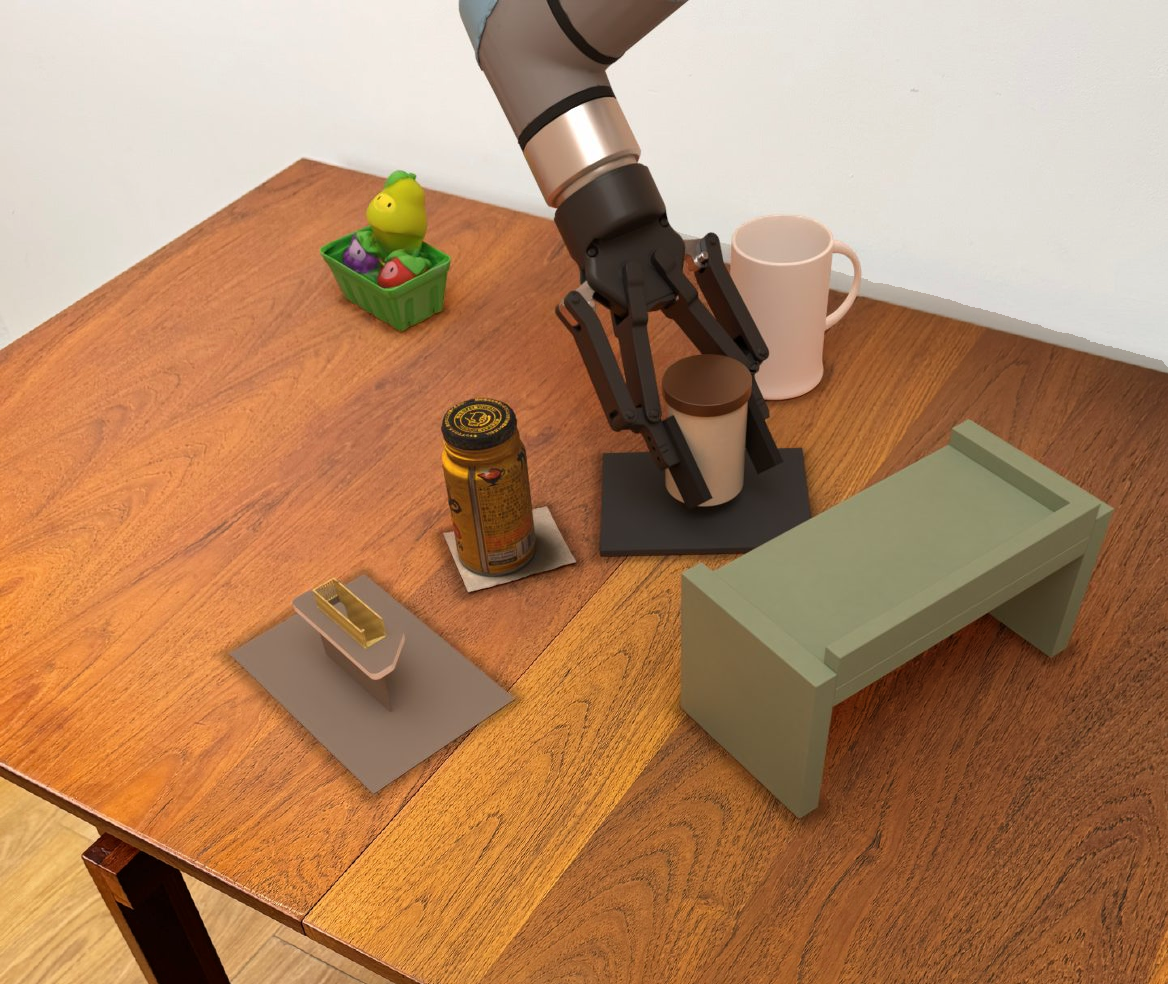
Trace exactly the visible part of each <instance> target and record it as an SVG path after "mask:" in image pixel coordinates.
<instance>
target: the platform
mask: <svg viewBox="0 0 1168 984" xmlns="http://www.w3.org/2000/svg"><path fill="white" fill-rule="evenodd" d="M291 603H292V607H293V610H294V611H295V612H296V613H295V614H293V615H291V616H290V617H288V618H287V619H285V620H283V621H281V622H280V623H278V624H276V625H274V626H273V627H271V628H269V629H268V630H266V631H264V632H263V633H261V634H259V635H257V636H255V637H254V638H251V640H248V641H247V642H246V643H244V644H242V645H240V646H239V647H237V648H235V649H234V650H232V651H230V652H229V653H228V654H229V656H231V658H233V660H235V661H236V663H238V664H239V665H240V666H241V667H242V668H243V669H244V670H245V671H246V672H247V673H248V674H249V675H250V676H251V677H252V678H253V679H254V680H255V681H256V682H257V683H258V684H260V685H261V687H262V688H263V689H265V690H266V691H267V692H268V693H269V695H271V696H272V697H273V699H275V700H276V701H277V702H278V703H279V704H280V705H281V706H282V707H283V708H284V709H285V710H286V711H287V712H288V713H289V714H290V715H291V716H292V717H293V718H294V719H295V720H296V721H297V722H298V723H299V724H300V725H302V727H304V728H305V729H306V730H307V731H308V732H309V733H310V734H311V736H313V737H314V738H315V739H316V740H317V741H318V742H319V743H320V744H321V745H322V746H323V747H324V748H325V749H326V750H328V752H329V753H330V754H331V755H332V756H333V757H334V758H336V759H337V761H339V763H341V764H342V765H343V767H344V768H346V769H347V770H348V771H349V772H350V774H352V775H353V776H354V778H356V779H357V780H358V781H359V782H360V783H361V784H362V785H363V786H364V787H365V788H366V789H367V790H369V792H370V793H372V794H373V795H375V794H376V793H377V792H379V791H381V790H382V789H383V788H385V787H386V786H388V785H390V784H391V783H393V782H394V781H395V780H396V779H398V778H399V777H401V776H403V775H404V774H405V773H407V772H409V771H410V770H411V769H413V768H414V767H417V766H418V765H419V764H420V763H422V762H423V761H425V760H426V759H428V758H429V757H431V756H432V755H434V754H436V753H437V752H438V751H440V750H442V749H443V748H444V747H446V746H447V745H449V744H450V743H451V742H453V741H455V740H456V739H457V738H459V737H460V736H462V735H463V734H466V732H468V731H469V730H471V729H473V728H474V727H475V726H477V725H478V724H480V723H481V722H482V721H484V720H486V719H488V718H489V717H491V716H492V715H493V714H495V713H496V712H498V711H499V710H501V709H502V708H504V707H505V706H506V705H508V704H510V703H511V702H513V701H514V700H515V699H516V698H515V696H513V695H511V694H510V693H509V692H508V691H507V690H506V689H504V687H502V686H501V685H499V683H497V681H494V679H492V678H491V677H490V676H488V674H486V673H485V672H484V671H483V670H481V669H480V668H479V667H478V666H477V665H475V664H474V663H473V662H472V661H471V660H469V659H468V658H467V657H466V656H465V655H463V654H462V653H461V652H459V651H458V650H457V649H456V648H455V647H453V646H452V645H451V644H450V643H449V642H448V641H446V640H445V639H444V638H443V637H442V636H440V635H439V634H438V633H437V632H436V631H434V630H433V629H431V627H429V626H428V625H427V624H426V623H425V622H423V621H422V620H421V619H420V618H418V616H416V615H415V614H414V613H412V612H411V611H410V610H409V609H407V608H406V607H405V606H404V605H402V604H401V603H400V602H399V601H398V600H397V599H395V598H394V597H393V596H392V595H391V594H389V593H388V592H387V591H386V590H385V589H383V588H382V587H381V586H380V585H379V584H377V583H376V582H375V581H374V580H372V579H371V578H370V577H369V576H368V575H366V574H365V573H363V574H361V575H359V576H357V577H356V578H355V579H353V580H351V581H349V582H347V583H341V582H340V581H339V580H338V579H336V578H335V577H332V578H331V579H329V580H327V581H325V582H323V583H322V584H320V585H318V586H317V587H315V588H313V589H312V590H307V591H305V592H303V593H302V594H300V595H298V596H296V597H294V599H292V602H291Z"/></svg>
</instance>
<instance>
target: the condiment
mask: <svg viewBox="0 0 1168 984" xmlns="http://www.w3.org/2000/svg"><path fill="white" fill-rule="evenodd" d="M440 431H441V433H442V439H443V450H442V453H441V463H442V464H441V468H442V471H443V477H444V483H445V488H446V489H445V490H446V494H447V499H448V500H447V502H448V503H447V504H448V506H449V511H450V517H451V523H452V525H451V526H452V531H449V532H443V533H442V534H443V536H444V539H445V541H446V544H447V546H448V548H449V551H450V553H451V556H452V558H453V561H454V563H455V565H456V568H457V571H458V573H459V575H460V577H461V579H462V581H463V584H464V586H465V588H466V591H467V593H471V592H474V591H479V590H481V589H486V588H491V587H495V586H497V585H503V584H506V583H510V582H512V581H516V580H517V581H518V580H519V579H522V578H526V577H528V576H531V575H533V574H539V573H543V572H547V571H551V570H555V569H557V568H560V567H562V566H565V565H571V564H574V563H577V560H576V558H575V557H574V555H573V554H572V552H571V551H570V550H571V549H570V548H569V546H568V544H567V543H566V541H565V539H564V537H563V535H562V533H561V532H560V530H559V528H558V525H557V524H556V521H555V520H554V518H553V516H552V513H551V512H550V509H549V508H548V506H547V505H546V506H543V507H537V508H533V505H532V494H531V485H530V476H529V467H528V457H527V450H526V446H525V444H524V441H522V439H521V435H520V431H519V428H518V419H517V416H516V413H515V412H514V409H513V408H512V407H511V406H510V405H509V404H508V403H506V402H503V401H501V400H498V399H494V398H490V397H489V398H487V397H479V398H477V397H476V398H470V399H466V400H464V401H462V402H458V403H457V404H455V405H454V406H453V407H450V408H449V409H448V410H447V411H446V412H445V414H444V415H443V418H442V421H441V426H440Z"/></svg>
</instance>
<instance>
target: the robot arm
mask: <svg viewBox="0 0 1168 984" xmlns="http://www.w3.org/2000/svg"><path fill="white" fill-rule="evenodd" d="M689 1H690V0H458V12H459V17H460V20H461V22H462V24H463V26H464V29H465V31H466V34H467V36H468V39H469V42H470V43H471V46H472V48H473V52H474V57H475V61H476V63H477V66H478V67H479V69H480V72H483V74H484V76H485V78H486V80H487V81H488V84H489V85H490V87H491V89H492V91H493V94H494V95H495V98H496V99H497V101H498V103H499V106H500V107H501V110H502V111H503V113H504V116H505V117H506V120H507V122H508V124H509V126H510V127H511V130H512V132H513V134H514V137H515V138H516V140H517V144H518V145H519V147H520V149H521V152H522V155H523V157H524V159H525V162H526V164H527V165H528V168H529V170H530V172H531V175H532V176H533V179H534V181H535V182H536V185H537V186H538V189H539V191H540V193H541V195H542V197H543V200H544V202H545V204H546V205H547V207H549V208H553V209H556V210H555V212H554V217H553V222H554V224H555V226H556V228H557V231H558V232H559V235H560V236H561V239H562V241H563V243H564V245H565V248H566V249H567V252H568V253H569V256H570V258H571V259H572V260H573V261H574V262H575V263H576V265H577V267H578V270H579V284H580V285H579V286H578V287H577V288H576V289H575V290H571V291H569V292H568V293H567V294H566V295H565V296H564V297H562V299H561V300H560V301H559V302H558V303H557V304H556V305H555V308H554V313H555V315H556V317H557V318H558V320H559V321H560V322H561V323H562V324H563V326H564V327H565V328H566V330H567V331H568V332H569V333H570V334H571V336H572V337H573V340H574V343H575V344H576V348H577V349H578V352H579V354H580V357H581V359H582V362H583V364H584V366H585V369H586V371H587V374H588V377H589V379H590V381H591V384H592V386H593V389H594V391H595V394H596V396H597V399H598V401H599V403H600V406H601V409H602V411H603V413H604V416H605V419H606V421H607V423H608V425H609V428H610V429H611V430H612V431H613V432H616V433H620V432H622V431H630V432H632V433H633V434H635V435H637V434H638V435H639V434H640V435H641V436H642V438H643V440H644V442H645V444H646V447H647V449H648V452H650V453H651V455H652V457H653V459H654V462H655V464H656V466H657V467H658V468H659V469H660V470H661V471H663V470H665V469H667V468H668V469H669V471H670V473H671V475H672V477H673V479H674V482H675V484H676V486H677V488H678V490H679V492H680V494H681V496H682V499H683V501H684V503H685V505H686V507H687V509H688V510H690V509H692V508H694V507H696V506H698V505H700V504H702V503H704V502H706V501H708V500H710V499H712V498H713V497H712V495H711V493H710V491H709V489H708V487H707V485H706V482H705V480H704V478H703V476H702V474H701V472H700V470H699V467H698V465H697V463H696V461H695V459H694V457H693V455H692V453H691V450H690V448H689V446H688V444H687V442H686V440H685V438H684V435H683V433H682V431H681V429H680V427H679V425H678V423H677V420H676V418H675V416H674V415H672V416H670V417H668V418H666V419H665V418H664V419H662V417H663V411H662V405H661V400H660V399H661V398H660V394H659V388H658V383H657V376H656V372H655V366H654V365H655V364H654V361H653V360H654V359H653V355H652V354H653V353H652V349H651V342H650V337H649V332H648V324H649V313H653V312H658V311H661V313H662V314H663V315H664V316H665V317H666V318H667V319H669V320H672V321H674V322H675V324H676V325H677V327H679V328H680V330H681V331H682V333H684V334H685V336H686V337H687V338H688V340H689V341H690V342H692V344H693V346H694V347H695V348H696V349H697V350H698V352H700V354H716V355H723V356H727V357H730V358H733V359H735V360H737V361H739V362H741V363H742V364H743V365H745V366H746V367H747V368H748V370H749V371H750V373H751V376H752V389H751V396H750V398H749V400H748V411H747V429H746V448H745V449H746V450H747V452H748V454H749V456H750V459H751V461H752V463H753V465H754V467H755V470H756V472H757V474H760V473H762V472H764V471H766V470H768V469H770V468H772V467H774V466H776V465H778V464H780V463H782V462H784V461H783V459H782V457H781V455H780V453H779V450H778V448H779V447H778V446H777V443H776V442H775V439H774V438H773V435H772V433H771V430H770V429H769V426H768V424H767V422H766V420H767V419H770V418H771V416H770V415H771V414H770V409H769V407H768V405H767V403H766V400H764V398H763V395H762V393H761V391H760V389H759V387H758V384H757V382H756V380H755V374H756V373H757V372H758V371H759V368H760V365H761V364H762V362H763V361H765V360H766V359H767V358H768V357H769V349H768V347H767V345H766V343H765V341H764V340H763V338H762V336H761V334H760V332H759V330H758V328H757V326H756V324H755V322H754V320H753V318H752V316H751V314H750V312H749V311H748V309H747V307H746V305H745V303H744V301H743V299H742V297H741V295H740V293H739V291H738V289H737V287H736V285H735V284H734V282H733V280H732V278H731V276H730V271H729V270H728V268H727V266H726V265H725V262H724V256H723V251H722V246H721V241H720V238H719V235H717V233H715V232H711V231H710V232H707V233H706V234H705V235H704V236H703V237H701V238H695V239H694V238H693V239H692V238H691V239H684V238H683V237H682V236H681V235H680V233H679V232H677V231H676V230H675V229H674V228H673V226H672V225H671V224H670V222H669V218H668V213H667V207H666V204H665V201H664V199H663V197H662V195H661V193H660V191H659V187H658V186H657V184H656V181H655V179H654V177H653V175H652V173H651V170H650V168H649V167H648V166H647V165H645V164H643V163H640V162H639V160H640V158H641V156H642V149H641V147H640V146H639V143H638V141H637V139H636V137H635V135H634V132H633V130H632V128H631V126H630V124H629V122H628V120H627V118H626V115H625V114H624V111H623V109H622V107H621V105H620V103H619V101H618V99H617V96H616V94H615V92H614V90H613V88H612V85H611V82H610V79H609V77H608V74H607V69H608V68H609V67H611V65H613V64H615V63H616V62H617V61H619V60H621V58H623V56H624V55H625V54H626V52H628V51H629V50H630V49H632V48H633V47H634V46H635V45H636V44H638V43H639V42H640V41H641V40H643V38H645V37H646V36H647V35H648V34H650V33H651V32H652V31H653V30H655V29H656V28H657V27H658V26H659V25H661V24H662V23H663V22H664V21H666V20H667V19H668V18H669V17H671V16H672V14H675V12H677V11H678V10H679V9H680V8H681V7H683V6H684V5H685V4H686V3H688V2H689ZM685 263H687V270H688V272H691V273H693V274H694V278H695V280H696V283H697V286H698V288H699V290H700V292H701V294H702V296H703V298H704V299H705V301H706V303H707V305H708V307H709V309H710V310H709V309H708V308H707V307H706V305H705V304H704V303H703V302H702V300H701V299H700V298H699V290H698V289H697V288H696V286H694V284H693V283H692V282H691V280H690V279H689V278H688V276H686V274H685V273H684V265H685ZM597 303H598V304H599V305H601V306H602V307H604V308H606V309H607V310H608V311H609V313H610V319H611V324H612V330H613V334H614V338H616V339H617V340H618V346H619V353H620V358H621V363H622V368H623V374H624V375H623V374H622V370H621V368H620V366H619V364H618V363H619V362H618V361H617V358H616V356H615V353H614V351H613V348H612V346H611V344H610V341H609V338H608V336H607V334H606V331H605V329H604V326H603V324H602V322H601V320H600V317H599V316H598V314H597V313H596V311H597V307H596V304H597ZM711 312H712V313H711Z"/></svg>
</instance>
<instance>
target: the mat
mask: <svg viewBox="0 0 1168 984" xmlns="http://www.w3.org/2000/svg"><path fill="white" fill-rule="evenodd" d="M777 448H778V450H779V453H780V455H781V457H782V459H783V461H784V462H782V463H780V464H778V465H776V466H774V467H772V468H770V469H768V470H766V471H764V472H762V473H760V474H757V472H756V470H755V467H754V465H753V463H752V461H751V459H750V456H749V454H748V452H747V450H746V448H745V466H744V484H743V487H742V489H741V491H740V492H739V494H738V495H737V496H735V497H734V498H733V499H731V500H729V501H727V502H725V503H722V504H719V505H714V506H696V507H694V508H692V509H690V510H688V509H687V507H686V505H685V503H683V502H681V501H679V500H677V499H676V498H674V497H673V496H672V495H671V494H670V493H669V492H668V490H667V488H666V485H665V470H663V471H661V470H660V469H659V468H658V467H657V466H656V464H655V462H654V459H653V457H652V455H651V453H650V451H631V452H630V451H629V452H627V451H625V452H603V453H602V477H601V479H602V480H601V509H600V510H601V511H600V536H599V537H600V538H599V556H600V557H633V556H635V557H637V556H678V555H680V556H681V555H718V554H719V555H722V554H746V553H748V552H750V551H752V550H754V549H755V548H757V547H759V546H761V545H763V544H765V543H767V542H768V541H770V540H772V539H774V538H776V537H778V536H780V535H781V534H783V533H785V532H787V531H789V530H791V529H792V528H794V527H796V526H798V525H800V524H802V523H804V522H805V521H807V520H809V519H811V518H812V513H811V506H810V497H809V489H808V482H807V474H806V467H805V458H804V451H803V447H777Z"/></svg>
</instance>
